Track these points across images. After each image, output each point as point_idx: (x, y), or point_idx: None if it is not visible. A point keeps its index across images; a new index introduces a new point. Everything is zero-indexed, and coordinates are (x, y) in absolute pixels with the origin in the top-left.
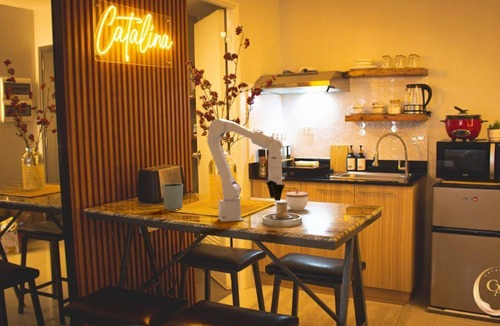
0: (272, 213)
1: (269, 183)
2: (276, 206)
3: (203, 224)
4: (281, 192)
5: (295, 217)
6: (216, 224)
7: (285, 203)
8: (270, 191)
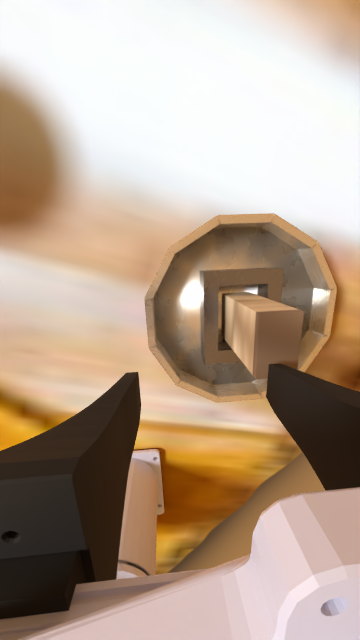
0: (152, 347)
1: (112, 574)
2: (246, 365)
3: (181, 550)
4: (347, 393)
5: (203, 235)
6: (193, 521)
7: (298, 322)
8: (131, 450)
